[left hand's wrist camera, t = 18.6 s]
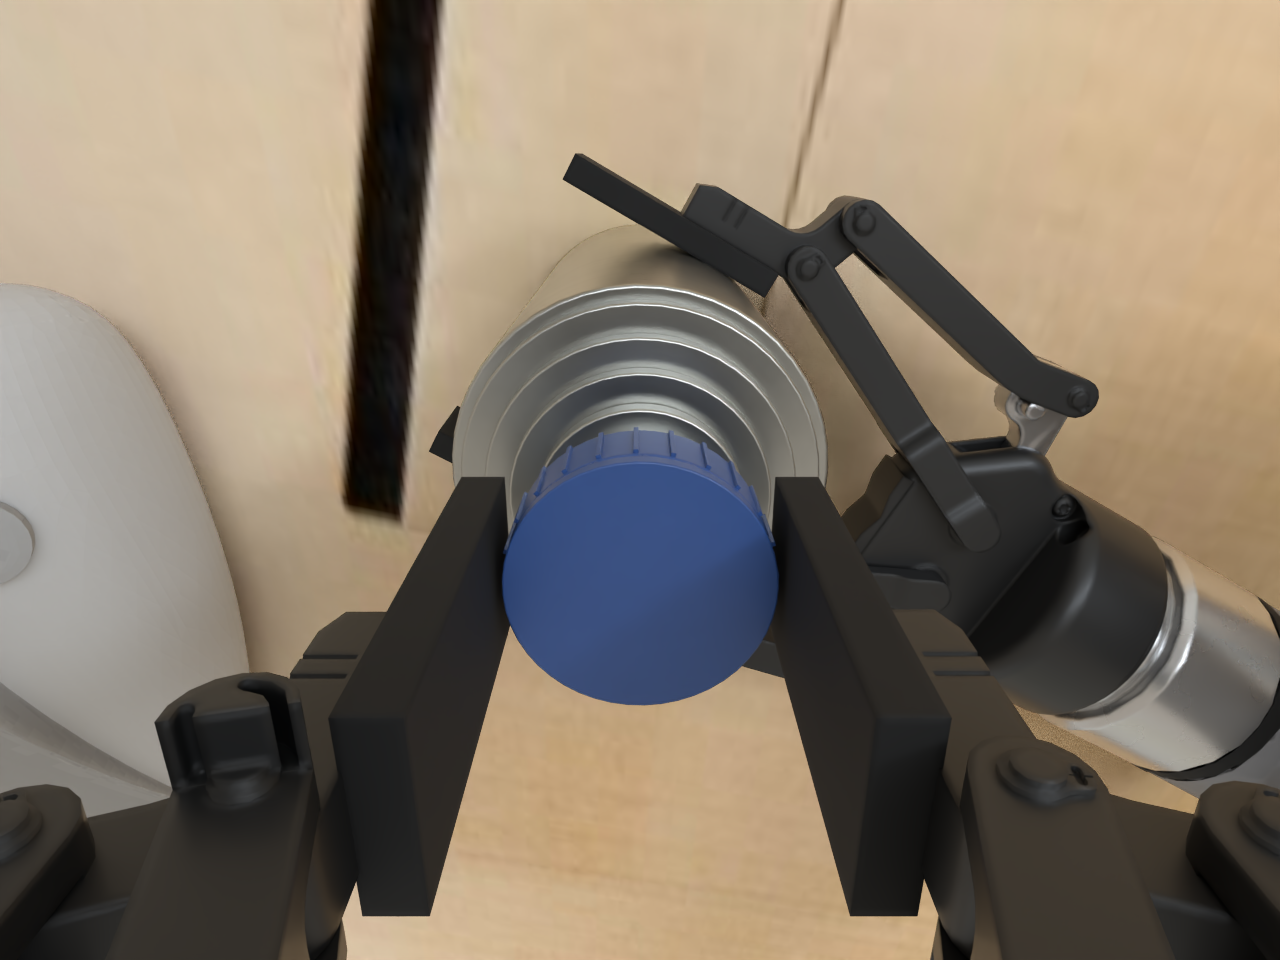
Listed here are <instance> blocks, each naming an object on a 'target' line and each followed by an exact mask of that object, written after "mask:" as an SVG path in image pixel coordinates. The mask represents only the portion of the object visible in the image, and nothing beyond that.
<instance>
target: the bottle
mask: <svg viewBox="0 0 1280 960" xmlns="http://www.w3.org/2000/svg"><path fill="white" fill-rule="evenodd" d="M634 427H639V430H646V431H658V432H664V433H668V432H669V430H671V431H674V435H677V436H681V437H685V438H687V439H690V440H692V441H694V442H697V443H699V444H701V443H702V442H705V443H706V444H707V448H708V449H710V450H712V451H713V452H715V453H717V454H718V455H719V456H720V457H722V458H723V459H724V460H725V461H727V462H729V461H730V460H731V461H732V462H733V463H734V465H735V469H736V471H737V472H738V473H739V474H740V475H741V476H742V478H743V479H744V481H745V482H746V483H747V485H748V486H751V485H752V486H753V487H754V490H755V492H756V495H757V498H758V501H759V504H760V507H761V510H762V513H763V514H765V515H766V518H767V521H768V524H769V526H770V529H771V532H772V518H773V503H774V488H775V477H819V479H820V481H821V482H822V484H823V486H824V488H826V481H827V473H828V444H827V437H826V430H825V424H824V420H823V417H822V413H821V410H820V407H819V403H818V400H817V398H816V396H815V394H814V391H813V389H812V387H811V385H810V383H809V381H808V379H807V377H806V375H805V374H804V372H803V371H802V369H801V368H800V366H799V365H798V363H797V361H796V360H795V358H794V357H793V356H792V354H791V353H790V352H789V350H788V349H787V348H786V346H785V345H784V344H783V342H782V341H781V340H780V339H779V337H778V336H777V335H776V333H775V332H774V331H773V329H772V328H771V327H770V325H769V324H768V323H767V321H766V320H765V319H764V317H763V316H762V315H761V313H760V312H759V311H758V309H757V308H756V307H755V306H754V304H753V303H752V302H751V300H750V299H749V298H748V296H747V295H746V294H745V292H744V291H743V290H742V288H741V287H740V286H739V284H738V283H737V282H736V281H735V280H733V279H732V278H730V277H728V276H727V275H725V274H723V273H721V272H720V271H718V270H716V269H715V268H713V267H712V266H710V265H708V264H706V263H704V262H703V261H701V260H699V259H698V258H696V257H694V256H692V255H691V254H689V253H687V252H686V251H684V250H682V249H680V248H679V247H677V246H675V245H674V244H672V243H670V242H669V241H667V240H665V239H663V238H662V237H660V236H658V235H657V234H655V233H653V232H651V231H650V230H648V229H646V228H645V227H643V226H641V225H628V226H621V227H617V228H612V229H608V230H606V231H603V232H601V233H598V234H595V235H593V236H592V237H590V238H588V239H586V240H584V241H583V242H581V243H580V244H579V245H577V246H576V247H574V248H573V249H572V250H571V251H570V252H568V253H567V254H566V255H565V256H564V257H563V258H562V259H561V260H560V262H559V263H558V264H557V266H556V267H555V268H554V269H553V271H552V272H551V273H550V275H549V276H548V277H547V279H546V280H545V281H544V283H543V284H542V285H541V287H540V288H539V289H538V291H537V292H536V293H535V295H534V296H533V297H532V298H531V300H530V301H529V302H528V304H527V305H526V306H525V308H524V309H523V310H522V312H521V313H520V314H519V316H518V317H517V318H516V320H515V321H514V322H513V324H512V325H511V326H510V328H509V329H508V330H507V332H506V333H505V334H504V336H503V337H502V338H501V340H500V341H499V342H498V344H497V345H496V346H495V348H494V349H493V350H492V352H491V353H490V354H489V355H488V357H487V358H486V359H485V361H484V362H483V363H482V365H481V366H480V368H479V370H478V371H477V373H476V375H475V377H474V378H473V380H472V382H471V384H470V385H469V387H468V390H467V392H466V395H465V397H464V400H463V402H462V405H461V408H460V411H459V415H458V419H457V423H456V427H455V432H454V441H453V452H452V462H453V479H454V485H455V488H456V486H457V484H458V482H459V480H460V479H461V477H505V488H506V503H507V518H508V533H510V530H511V527H512V524H513V522H514V519H515V516H516V513H517V511H518V508H519V505H520V502H521V499H522V496H523V494H524V492H527V493H528V492H529V490H530V489H531V487H532V486H533V484H534V482H535V481H536V480H537V479H538V477H539V474H540V471H541V468H542V467H543V466H545V467H546V468H547V467H548V466H549V465H551V464H552V463H553V462H554V461H555V460H556V459H557V458H559V457H560V456H562V455H563V454H564V453H566V450H567V447H569V446H570V445H571V446H572V447H573V448H574V447H576V446H578V445H580V444H582V443H584V442H586V441H588V440H591V439H594V438H597V437H598V435H599V433H601V432H603V433H604V435H607V434H612V433H616V432H623V431H633V430H634Z"/></svg>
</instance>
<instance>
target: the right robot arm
mask: <svg viewBox="0 0 1280 960" xmlns="http://www.w3.org/2000/svg"><path fill="white" fill-rule="evenodd" d="M563 180H564V181H566V182H568V183H570V184H571V185H573V186H575V187H576V188H578V189H580V190H581V191H583V192H585V193H587V194H588V195H590V196H592V197H593V198H595V199H597V200H599V201H600V202H602V203H604V204H605V205H607V206H609V207H610V208H612V209H614V210H616V211H617V212H619V213H621V214H622V215H624V216H626V217H628V218H629V219H631V220H633V221H634V222H636V223H638V224H640V225H641V226H643V227H645V228H646V229H648V230H650V231H651V232H653V233H655V234H657V235H658V236H660V237H662V238H663V239H665V240H667V241H669V242H670V243H672V244H674V245H675V246H677V247H679V248H680V249H682V250H684V251H686V252H687V253H689V254H691V255H692V256H694V257H696V258H698V259H699V260H701V261H703V262H704V263H706V264H708V265H710V266H712V267H713V268H715V269H716V270H718V271H720V272H721V273H723V274H725V275H727V276H728V277H730V278H732V279H733V280H735V281H737V282H739V283H740V284H742V285H744V286H745V287H747V288H749V289H750V290H752V291H754V292H756V293H757V294H759V295H761V296H762V297H764V298H765V296H766V295H767V293H768V291H769V290H770V288H771V287H772V285H773V283H774V282H775V280H776V278H777V277H778V275H779V276H781V277H782V278H783V279H784V281H785V282H786V284H787V285H788V287H789V288H790V290H791V291H792V293H793V294H794V296H795V297H796V299H797V301H798V302H799V304H800V305H801V307H802V308H803V310H804V311H805V313H806V314H807V316H808V317H809V319H810V320H811V322H812V323H813V325H814V327H815V328H816V330H817V331H818V333H819V334H820V336H821V337H822V339H823V340H824V342H825V343H826V345H827V346H828V348H829V349H830V351H831V353H832V354H833V356H834V357H835V359H836V360H837V362H838V363H839V365H840V366H841V368H842V369H843V371H844V372H845V374H846V375H847V377H848V379H849V380H850V382H851V383H852V385H853V386H854V388H855V389H856V391H857V392H858V394H859V395H860V397H861V398H862V400H863V401H864V403H865V405H866V406H867V408H868V409H869V411H870V412H871V414H872V415H873V417H874V418H875V420H876V422H877V424H878V426H879V427H880V429H881V431H882V432H883V434H884V435H885V437H886V438H887V440H888V441H889V443H890V444H891V446H892V447H893V449H894V450H895V452H896V454H895V455H894V456H893V457H890V456H888V455H885V457H884V458H883V459H882V461H881V462H880V464H879V465H878V466H877V468H876V469H875V471H874V472H873V474H872V477H871V479H870V482H869V485H868V487H867V490H866V492H865V494H864V495H863V496H862V497H861V498H859V499H858V500H857V501H856V502H855V503H854V504H852V505H851V506H850V507H849V508H848V509H847V510H846V511H845V513H844V514H843V515H842V517H841V518H842V520H843V522H844V524H845V526H846V527H847V529H848V531H849V533H850V535H851V536H852V538H853V540H854V542H855V544H856V546H857V547H858V549H859V551H860V553H861V555H862V556H863V558H864V560H865V562H866V564H867V565H868V567H869V569H870V571H871V573H872V574H873V576H874V578H875V580H876V582H877V583H878V585H879V587H880V589H881V591H882V592H883V594H884V596H885V598H886V600H887V601H888V603H889V605H890V607H891V609H934V610H936V611H937V612H938V613H940V614H941V615H943V616H944V617H945V618H947V619H948V620H950V621H951V622H953V623H954V624H955V625H957V626H958V627H960V628H961V629H962V630H963V631H964V633H965V634H966V636H967V637H968V639H969V640H970V642H971V643H972V645H973V646H974V648H975V649H976V651H977V655H978V657H981V658H982V659H983V661H984V662H985V664H986V665H987V667H988V668H989V670H990V675H991V676H994V677H995V679H996V680H997V682H998V683H999V685H1000V686H1001V687H1002V689H1003V690H1004V692H1005V693H1006V695H1007V696H1008V698H1009V699H1010V701H1011V702H1012V703H1013V704H1015V705H1017V706H1019V707H1021V708H1023V709H1026V710H1028V711H1030V712H1034V713H1037V714H1039V715H1040V716H1041V717H1042V718H1044V719H1045V720H1046V721H1047V722H1049V723H1051V724H1053V725H1055V726H1057V727H1059V728H1061V729H1063V730H1065V731H1067V732H1069V733H1071V734H1073V735H1075V736H1077V737H1080V738H1082V739H1084V740H1086V741H1088V742H1090V743H1092V744H1094V745H1096V746H1098V747H1100V748H1102V749H1104V750H1106V751H1108V752H1110V753H1112V754H1114V755H1116V756H1118V757H1120V758H1122V759H1124V760H1126V761H1128V762H1130V763H1132V764H1133V765H1135V766H1137V767H1138V768H1140V769H1142V770H1144V771H1147V772H1150V773H1152V774H1154V775H1156V776H1157V777H1159V778H1161V779H1163V780H1165V781H1167V782H1169V783H1170V784H1172V785H1174V786H1176V787H1178V788H1180V789H1182V790H1183V791H1185V792H1187V793H1189V794H1191V795H1193V796H1195V797H1197V798H1198V799H1199V798H1200V795H1201V794H1202V793H1203V792H1204V791H1205V790H1207V789H1208V788H1209V787H1210V786H1211V785H1212V784H1217V783H1223V782H1229V781H1242V782H1250V783H1258V784H1264V785H1267V786H1270V787H1274V788H1278V789H1280V611H1279V610H1277V609H1275V608H1273V607H1272V606H1270V605H1268V604H1267V603H1266V602H1264V601H1263V600H1262V599H1260V598H1259V597H1257V596H1256V595H1254V594H1253V593H1251V592H1249V591H1248V590H1246V589H1244V588H1243V587H1241V586H1239V585H1237V584H1236V583H1234V582H1232V581H1231V580H1229V579H1227V578H1226V577H1224V576H1222V575H1221V574H1219V573H1217V572H1215V571H1214V570H1212V569H1210V568H1209V567H1207V566H1205V565H1204V564H1202V563H1200V562H1198V561H1197V560H1195V559H1193V558H1192V557H1190V556H1188V555H1187V554H1185V553H1183V552H1182V551H1180V550H1178V549H1176V548H1175V547H1173V546H1171V545H1170V544H1168V543H1166V542H1164V541H1162V540H1160V539H1158V538H1156V537H1153V536H1150V535H1149V534H1148V533H1147V532H1146V531H1145V530H1143V529H1142V528H1140V527H1139V526H1137V525H1136V524H1134V523H1132V522H1131V521H1129V520H1127V519H1125V518H1124V517H1122V516H1120V515H1119V514H1117V513H1115V512H1113V511H1112V510H1110V509H1108V508H1107V507H1105V506H1103V505H1101V504H1100V503H1098V502H1096V501H1095V500H1093V499H1091V498H1089V497H1088V496H1086V495H1084V494H1083V493H1081V492H1079V491H1077V490H1076V489H1074V488H1072V487H1071V486H1069V485H1067V484H1065V483H1064V482H1062V481H1060V480H1059V479H1058V478H1057V477H1056V475H1055V474H1054V472H1053V469H1052V467H1051V464H1050V462H1049V461H1048V460H1047V458H1046V457H1045V454H1046V453H1047V451H1048V449H1049V448H1050V446H1051V444H1052V442H1053V441H1054V439H1055V437H1056V436H1057V434H1058V432H1059V431H1060V429H1061V427H1062V425H1063V424H1064V422H1065V420H1066V419H1067V417H1073V418H1077V417H1082V416H1084V415H1086V414H1088V413H1089V412H1091V411H1092V409H1093V408H1094V407H1095V406H1096V404H1097V401H1098V399H1099V391H1098V389H1097V387H1096V385H1095V384H1094V383H1092V382H1091V381H1089V380H1087V379H1085V378H1083V377H1081V376H1079V375H1077V374H1075V373H1073V372H1071V371H1069V370H1067V369H1065V368H1063V367H1061V366H1059V365H1057V364H1055V363H1053V362H1051V361H1049V360H1046V359H1043V358H1041V357H1038V356H1036V355H1033V354H1032V353H1031V352H1030V351H1029V350H1028V349H1027V348H1026V347H1025V346H1024V345H1023V344H1022V343H1021V342H1020V341H1019V340H1018V339H1017V338H1015V337H1014V336H1013V335H1012V334H1011V333H1010V332H1009V331H1008V330H1007V329H1006V328H1005V327H1004V326H1003V325H1002V324H1001V323H1000V322H999V321H998V320H997V319H996V318H995V317H994V316H993V315H992V314H991V313H990V312H989V311H988V310H987V309H986V308H985V307H984V306H983V305H982V304H981V303H980V302H979V301H978V300H977V299H976V298H975V297H974V296H972V295H971V294H970V293H969V292H968V291H967V290H966V289H965V288H964V287H963V286H962V285H961V284H960V283H959V282H958V281H957V280H956V279H955V278H954V277H953V276H952V275H951V274H950V273H949V272H948V271H947V270H946V269H945V268H944V267H943V266H942V265H941V264H940V263H939V262H938V261H937V260H936V259H935V258H934V257H933V256H932V255H931V254H929V253H928V252H927V251H926V250H925V249H924V248H923V247H922V246H921V245H920V244H919V243H918V242H917V241H916V240H915V239H914V238H913V237H912V236H911V235H910V234H909V233H908V232H907V231H906V230H905V229H904V228H903V227H902V226H901V225H900V224H899V223H898V222H897V221H896V220H895V219H894V218H893V217H892V216H891V215H890V214H889V213H887V212H886V211H885V210H884V209H883V208H882V207H881V206H880V205H879V204H877V203H876V202H874V201H872V200H867V199H863V198H858V197H852V196H841V197H838V198H836V199H834V200H833V201H832V202H831V203H830V204H829V206H828V207H827V209H826V210H825V211H824V212H823V213H822V214H821V215H820V216H818V217H817V218H816V219H815V220H814V221H812V222H811V223H810V224H808V225H807V226H805V227H802V228H800V229H787V228H785V227H783V226H781V225H780V224H778V223H776V222H775V221H773V220H771V219H770V218H768V217H766V216H765V215H763V214H762V213H760V212H758V211H757V210H755V209H753V208H752V207H750V206H748V205H747V204H745V203H743V202H742V201H740V200H739V199H737V198H735V197H734V196H732V195H730V194H729V193H727V192H725V191H724V190H722V189H720V188H719V187H716V186H713V185H705V184H698V183H697V184H696V185H695V187H694V189H693V191H692V193H691V194H690V196H689V198H688V200H687V202H686V204H685V205H684V207H683V209H682V211H681V212H679V211H678V210H676V209H674V208H673V207H671V206H669V205H668V204H666V203H664V202H663V201H661V200H659V199H657V198H656V197H654V196H652V195H651V194H649V193H647V192H646V191H644V190H642V189H641V188H639V187H637V186H636V185H634V184H632V183H631V182H629V181H627V180H626V179H624V178H622V177H621V176H619V175H617V174H615V173H614V172H612V171H610V170H609V169H607V168H605V167H604V166H602V165H600V164H599V163H597V162H595V161H594V160H592V159H590V158H589V157H587V156H585V155H584V154H576V153H575V155H574V157H573V159H572V161H571V163H570V165H569V167H568V170H567V172H566V174H565V176H564V178H563ZM852 253H853V254H854V255H855V256H856V257H857V258H858V259H859V260H860V261H861V262H862V263H863V264H865V265H866V266H867V267H868V268H869V269H870V270H871V271H872V272H873V273H874V274H875V275H876V276H877V277H878V278H879V279H880V280H881V281H883V282H884V283H885V284H886V285H887V286H888V287H889V288H890V289H891V290H892V291H893V292H894V293H895V294H896V295H897V296H898V297H899V298H901V299H902V300H903V301H904V302H905V303H906V304H907V305H908V306H909V307H910V308H911V309H912V310H913V311H914V312H915V313H916V314H917V315H918V316H920V317H921V318H922V319H923V320H924V321H925V322H926V323H927V324H928V325H929V326H930V327H931V328H932V329H933V330H934V331H935V332H936V333H938V334H939V335H940V336H941V337H942V338H943V339H944V340H945V341H946V342H947V343H948V344H949V345H950V346H951V347H952V348H953V349H954V350H956V351H957V352H958V353H959V354H960V355H961V356H962V357H963V358H964V359H965V360H966V361H967V362H968V363H969V364H971V365H972V366H973V367H974V368H975V369H977V370H978V371H979V372H981V373H982V374H984V375H986V376H987V377H989V378H990V379H992V380H993V381H995V382H996V383H998V384H999V385H998V386H997V387H996V389H995V396H994V403H995V406H996V408H997V409H998V410H999V411H1000V412H1001V413H1003V414H1004V415H1005V416H1006V417H1007V419H1008V421H1009V431H1008V434H1007V436H998V437H989V438H980V439H971V440H961V441H952V442H946V441H945V440H944V438H943V437H942V435H941V434H940V433H939V431H938V430H937V429H936V428H935V426H934V425H933V424H932V422H931V421H930V419H929V418H928V416H927V414H926V413H925V411H924V410H923V408H922V407H921V405H920V403H919V402H918V400H917V399H916V397H915V395H914V394H913V392H912V391H911V389H910V387H909V386H908V384H907V383H906V381H905V379H904V378H903V376H902V375H901V373H900V371H899V370H898V368H897V367H896V365H895V363H894V362H893V360H892V359H891V357H890V356H889V354H888V352H887V351H886V349H885V348H884V346H883V344H882V343H881V341H880V340H879V338H878V336H877V335H876V333H875V332H874V330H873V328H872V327H871V325H870V324H869V322H868V320H867V319H866V317H865V316H864V314H863V312H862V311H861V309H860V308H859V306H858V305H857V303H856V301H855V300H854V298H853V297H852V295H851V293H850V292H849V290H848V289H847V287H846V285H845V284H844V282H843V281H842V279H841V277H840V276H839V274H838V273H837V271H836V269H835V267H836V266H838V265H839V264H840V263H841V262H843V261H844V260H845V259H846V258H847V257H849V256H850V255H851V254H852ZM460 408H461V407H459V406H457V407H456V408H455V410H454V411H453V412H452V414H451V415H450V416H449V418H448V419H447V421H446V422H445V423H444V425H443V426H442V427H441V429H440V430H439V432H438V434H437V436H436V438H435V440H434V442H433V444H432V446H431V448H430V450H429V452H431V453H433V454H435V455H437V456H439V457H441V458H443V459H445V460H447V461H449V462H451V463H453V462H452V452H453V441H454V432H455V427H456V423H457V419H458V415H459V411H460ZM742 666H744V667H747V668H751V669H754V670H758V671H761V672H765V673H768V674H772V675H775V676H779V677H782V678H784V674H783V671H782V667H781V664H780V660H779V656H778V653H777V649H776V645H775V642H774V638H773V635H772V631H771V627H769V629H768V631H767V633H766V635H765V637H764V638H763V640H762V642H761V643H760V645H759V647H758V648H757V649H756V651H755V652H754V653H753V654H752V656H751V657H750V658H749V659H748V660H747V661H746V662H745V663H744V664H743V665H742Z"/></svg>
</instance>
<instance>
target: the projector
mask: <svg viewBox="0 0 1280 960" xmlns="http://www.w3.org/2000/svg"><path fill="white" fill-rule="evenodd" d="M240 673H250V672H249V663H248V657H247V650H246V644H245V637H244V631H243V625H242V621H241V616H240V611H239V606H238V602H237V597H236V594H235V590H234V586H233V582H232V578H231V574H230V570H229V567H228V564H227V560H226V557H225V554H224V551H223V547H222V544H221V541H220V537H219V534H218V531H217V529H216V526H215V523H214V520H213V517H212V514H211V512H210V509H209V506H208V503H207V500H206V498H205V495H204V492H203V490H202V487H201V485H200V482H199V480H198V477H197V475H196V472H195V470H194V467H193V465H192V462H191V460H190V457H189V455H188V453H187V451H186V448H185V446H184V444H183V441H182V439H181V437H180V435H179V432H178V430H177V428H176V425H175V423H174V421H173V419H172V417H171V415H170V413H169V411H168V409H167V407H166V405H165V403H164V401H163V399H162V397H161V395H160V393H159V391H158V389H157V387H156V385H155V384H154V382H153V380H152V378H151V377H150V375H149V373H148V371H147V370H146V368H145V366H144V364H143V363H142V361H141V360H140V359H139V357H138V356H137V354H136V353H135V351H134V350H133V348H132V347H131V345H130V344H129V343H128V341H127V340H126V339H125V338H124V337H123V335H122V334H121V333H120V332H119V331H118V330H117V329H116V328H115V327H114V326H113V325H112V324H111V323H110V322H109V321H108V320H107V319H106V318H105V317H104V316H102V315H101V314H99V313H98V312H97V311H95V310H94V309H92V308H91V307H89V306H88V305H86V304H84V303H82V302H80V301H78V300H76V299H74V298H72V297H69V296H66V295H64V294H61V293H58V292H55V291H52V290H49V289H46V288H41V287H36V286H31V285H21V284H8V283H0V793H3V792H6V791H9V790H12V789H15V788H19V787H27V786H35V785H43V784H49V785H55V786H62V787H68V788H69V789H71V790H72V791H73V792H74V793H75V794H76V795H78V796H79V797H80V798H81V801H82V804H83V807H84V810H85V813H86V816H87V818H88V817H92V816H97V815H101V814H106V813H110V812H114V811H119V810H123V809H128V808H132V807H137V806H141V805H146V804H150V803H153V802H157V801H160V800H163V799H167V798H170V795H171V793H172V786H171V782H170V779H169V775H168V771H167V768H166V764H165V760H164V757H163V753H162V749H161V746H160V742H159V738H158V735H157V731H156V727H155V724H154V722H155V721H156V719H157V718H158V717H159V716H160V714H161V713H162V712H163V710H164V709H165V708H166V707H167V705H169V704H170V703H172V702H173V701H175V700H176V699H177V698H179V697H180V696H182V695H183V694H185V693H186V692H187V691H189V690H191V689H194V688H196V687H198V686H201V685H203V684H205V683H208V682H210V681H212V680H215V679H218V678H223V677H227V676H232V675H236V674H240Z"/></svg>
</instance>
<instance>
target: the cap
mask: <svg viewBox="0 0 1280 960" xmlns="http://www.w3.org/2000/svg"><path fill="white" fill-rule="evenodd" d="M773 546H776V544H775V541H774V538H773V535H772V532H771V529H770V526H769V524H768V521H767V518H766V515H765V514H763V513H762V510H761V507H760V504H759V501H758V498H757V495H756V492H755V490H754V487H753V486H752V485H751V486H748V485H747V483H746V482H745V481H744V479H743V478H742V476H741V475H740V474H739V473H738V472H737V471H736V469H735V465H734V463H733V462H732V461H731V460H730V461H729V462H727V461H725V460H724V459H723V458H722V457H720V456H719V455H718V454H717V453H715V452H713V451H712V450H710V449H708V448H707V444H706V443H705V442H702V443H701V444H699V443H697V442H694V441H692V440H690V439H687V438H685V437H681V436H677V435H674V431H671V430H669V432H668V433H664V432H658V431H646V430H639V427H634V430H633V431H623V432H616V433H612V434H607V435H604V433H603V432H601V433H599V435H598V437H597V438H594V439H591V440H588V441H586V442H584V443H582V444H580V445H578V446H576V447H574V448H573V447H572V446H571V445H570V446H569V447H567V450H566V453H564V454H563V455H562V456H560V457H559V458H557V459H556V460H555V461H554V462H553V463H552V464H551V465H549V466H548V467H547V468H546V467H545V466H543V467H542V468H541V471H540V474H539V477H538V479H537V480H536V481H535V482H534V484H533V486H532V487H531V489H530V490H529V492H528V493H527V492H524V494H523V496H522V499H521V502H520V505H519V508H518V511H517V513H516V516H515V519H514V522H513V524H512V527H511V530H510V533H509V536H508V539H507V542H506V545H505V548H504V551H503V554H506V556H505V559H504V563H503V572H502V596H503V601H504V607H505V611H506V614H507V617H508V620H509V623H510V626H511V628H512V630H513V632H514V634H515V636H516V638H517V640H518V641H519V643H520V644H521V645H522V647H523V648H524V650H525V651H526V653H527V654H528V655H529V656H530V657H531V658H532V659H533V661H534V662H535V663H536V664H537V665H538V666H539V667H540V668H542V669H543V670H544V671H545V672H546V673H547V674H548V675H550V676H551V677H553V678H554V679H556V680H557V681H559V682H560V683H562V684H563V685H565V686H567V687H569V688H571V689H573V690H575V691H577V692H579V693H581V694H584V695H587V696H589V697H592V698H595V699H599V700H603V701H607V702H611V703H618V704H625V705H654V704H663V703H669V702H674V701H679V700H682V699H685V698H688V697H692V696H695V695H697V694H699V693H701V692H704V691H706V690H708V689H710V688H712V687H714V686H715V685H717V684H719V683H721V682H722V681H724V680H725V679H727V678H728V677H729V676H731V675H732V674H733V673H735V672H736V671H737V670H738V669H739V668H740V667H741V666H742V665H743V664H744V663H745V662H746V661H747V660H748V659H749V658H750V657H751V656H752V654H753V653H754V652H755V651H756V649H757V648H758V647H759V645H760V643H761V642H762V640H763V638H764V637H765V635H766V633H767V631H768V629H769V627H770V624H771V622H772V619H773V616H774V613H775V609H776V605H777V599H778V590H779V572H778V567H777V561H776V556H775V553H774V550H773Z"/></svg>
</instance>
